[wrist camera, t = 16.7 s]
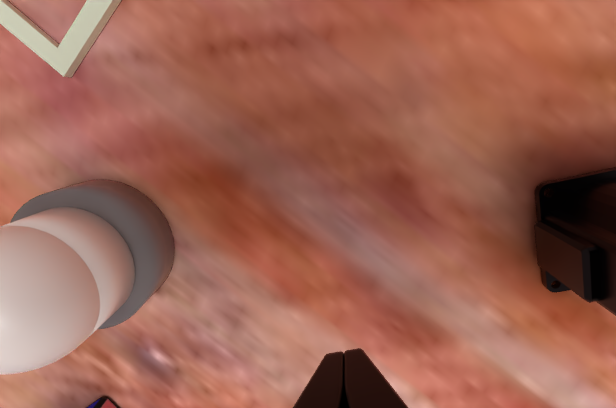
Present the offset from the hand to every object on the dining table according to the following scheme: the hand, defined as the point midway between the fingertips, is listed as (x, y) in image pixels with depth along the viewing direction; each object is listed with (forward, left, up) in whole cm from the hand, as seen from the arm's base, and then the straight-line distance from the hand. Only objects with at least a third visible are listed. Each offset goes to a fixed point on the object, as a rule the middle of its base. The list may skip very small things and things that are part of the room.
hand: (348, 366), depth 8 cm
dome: (+14, -1, -10) cm, 17 cm away
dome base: (+14, -1, -13) cm, 19 cm away
